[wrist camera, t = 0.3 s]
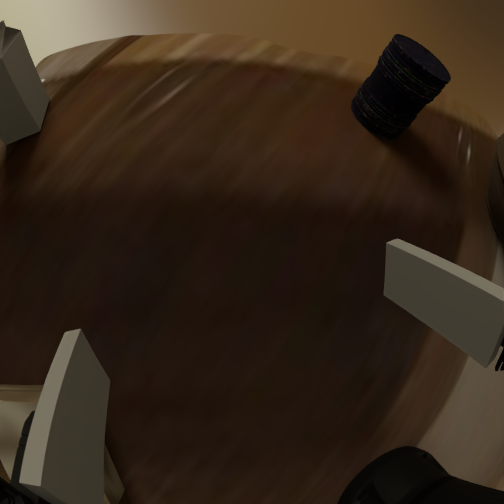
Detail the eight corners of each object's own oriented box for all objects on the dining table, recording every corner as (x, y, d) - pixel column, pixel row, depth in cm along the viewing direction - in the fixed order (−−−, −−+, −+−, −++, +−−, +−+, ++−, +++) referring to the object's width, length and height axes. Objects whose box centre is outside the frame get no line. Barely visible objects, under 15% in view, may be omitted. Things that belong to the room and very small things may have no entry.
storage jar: (393, 151, 37) (450, 91, 23) (341, 112, 37) (387, 41, 23) (405, 121, 40) (451, 69, 26) (360, 88, 40) (399, 29, 26)
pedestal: (125, 489, 19) (112, 516, 13) (37, 480, 16) (15, 498, 10) (85, 382, 22) (59, 393, 16) (1, 384, 19) (-29, 389, 13)
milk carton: (41, 131, 28) (-9, 34, 10) (6, 146, 26) (-50, 63, 8) (50, 100, 30) (14, 8, 12) (16, 113, 28) (-26, 33, 10)
